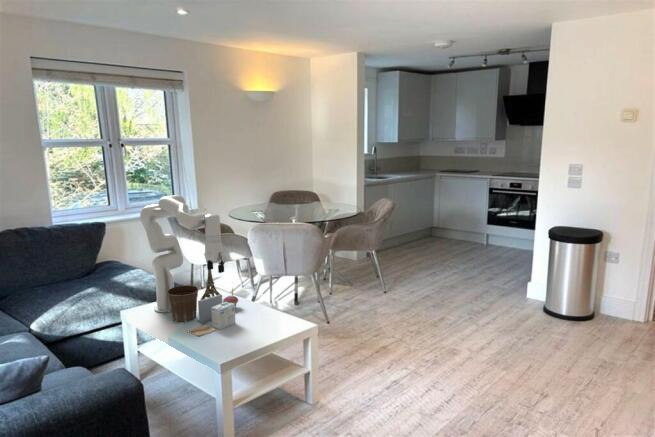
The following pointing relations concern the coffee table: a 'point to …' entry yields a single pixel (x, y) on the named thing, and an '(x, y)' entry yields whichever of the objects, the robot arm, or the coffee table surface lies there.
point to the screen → (207, 308)
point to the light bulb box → (223, 315)
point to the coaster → (201, 330)
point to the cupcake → (231, 299)
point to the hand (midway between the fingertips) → (215, 270)
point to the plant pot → (183, 303)
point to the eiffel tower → (208, 290)
